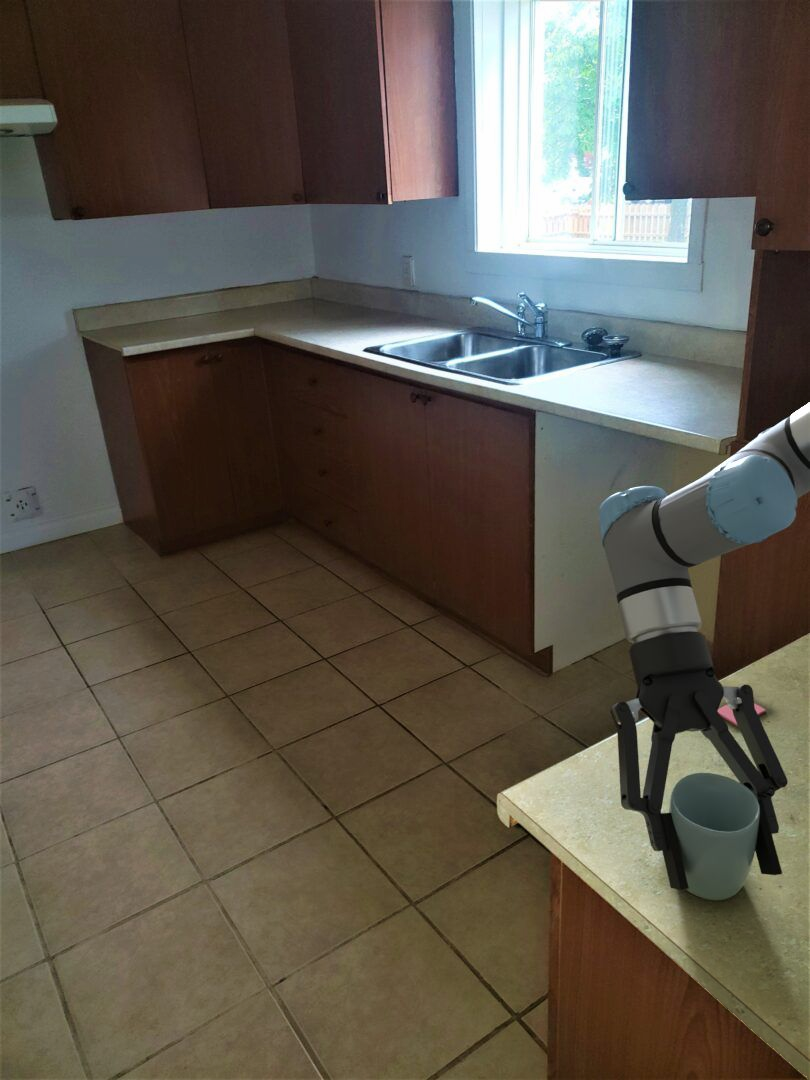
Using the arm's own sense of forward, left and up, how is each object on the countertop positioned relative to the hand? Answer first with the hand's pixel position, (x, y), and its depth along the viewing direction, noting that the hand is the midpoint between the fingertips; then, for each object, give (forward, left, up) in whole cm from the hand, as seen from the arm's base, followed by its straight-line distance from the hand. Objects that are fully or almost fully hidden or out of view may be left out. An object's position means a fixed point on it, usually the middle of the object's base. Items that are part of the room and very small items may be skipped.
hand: (725, 880), depth 74 cm
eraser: (+1, -30, -4) cm, 30 cm away
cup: (+2, -3, -4) cm, 5 cm away
